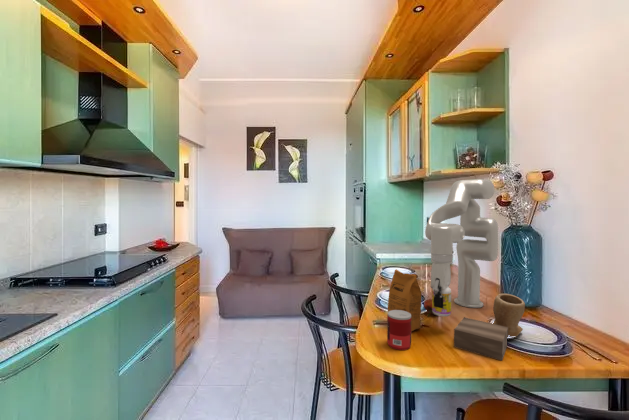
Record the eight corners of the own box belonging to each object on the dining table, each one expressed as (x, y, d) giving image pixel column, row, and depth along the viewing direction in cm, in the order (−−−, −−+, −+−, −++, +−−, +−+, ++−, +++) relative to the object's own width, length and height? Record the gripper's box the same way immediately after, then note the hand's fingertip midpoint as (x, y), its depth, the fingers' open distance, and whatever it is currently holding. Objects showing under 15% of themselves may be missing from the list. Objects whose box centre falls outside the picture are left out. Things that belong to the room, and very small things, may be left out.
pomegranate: (438, 324, 124) (449, 306, 129) (430, 312, 123) (441, 294, 127) (424, 320, 131) (434, 303, 135) (416, 308, 129) (427, 291, 133)
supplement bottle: (429, 313, 112) (429, 280, 111) (435, 308, 117) (435, 277, 116) (447, 318, 107) (447, 284, 107) (453, 313, 112) (453, 280, 112)
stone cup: (517, 346, 101) (518, 303, 100) (480, 334, 110) (481, 294, 110) (532, 334, 110) (533, 295, 109) (497, 324, 119) (497, 287, 119)
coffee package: (401, 318, 125) (401, 267, 124) (424, 329, 114) (425, 273, 113) (383, 323, 120) (383, 269, 119) (406, 335, 109) (406, 276, 108)
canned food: (415, 348, 99) (416, 316, 98) (394, 352, 96) (395, 319, 96) (402, 338, 106) (403, 308, 106) (383, 341, 104) (383, 310, 103)
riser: (463, 332, 111) (464, 317, 111) (507, 344, 102) (508, 327, 102) (454, 346, 100) (454, 329, 100) (502, 360, 91) (502, 341, 91)
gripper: (438, 253, 120) (438, 296, 121) (423, 260, 107) (423, 308, 108) (458, 255, 115) (457, 299, 116) (445, 263, 102) (445, 313, 103)
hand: (441, 303), depth 112 cm, fingers closed on supplement bottle, 6 cm apart
